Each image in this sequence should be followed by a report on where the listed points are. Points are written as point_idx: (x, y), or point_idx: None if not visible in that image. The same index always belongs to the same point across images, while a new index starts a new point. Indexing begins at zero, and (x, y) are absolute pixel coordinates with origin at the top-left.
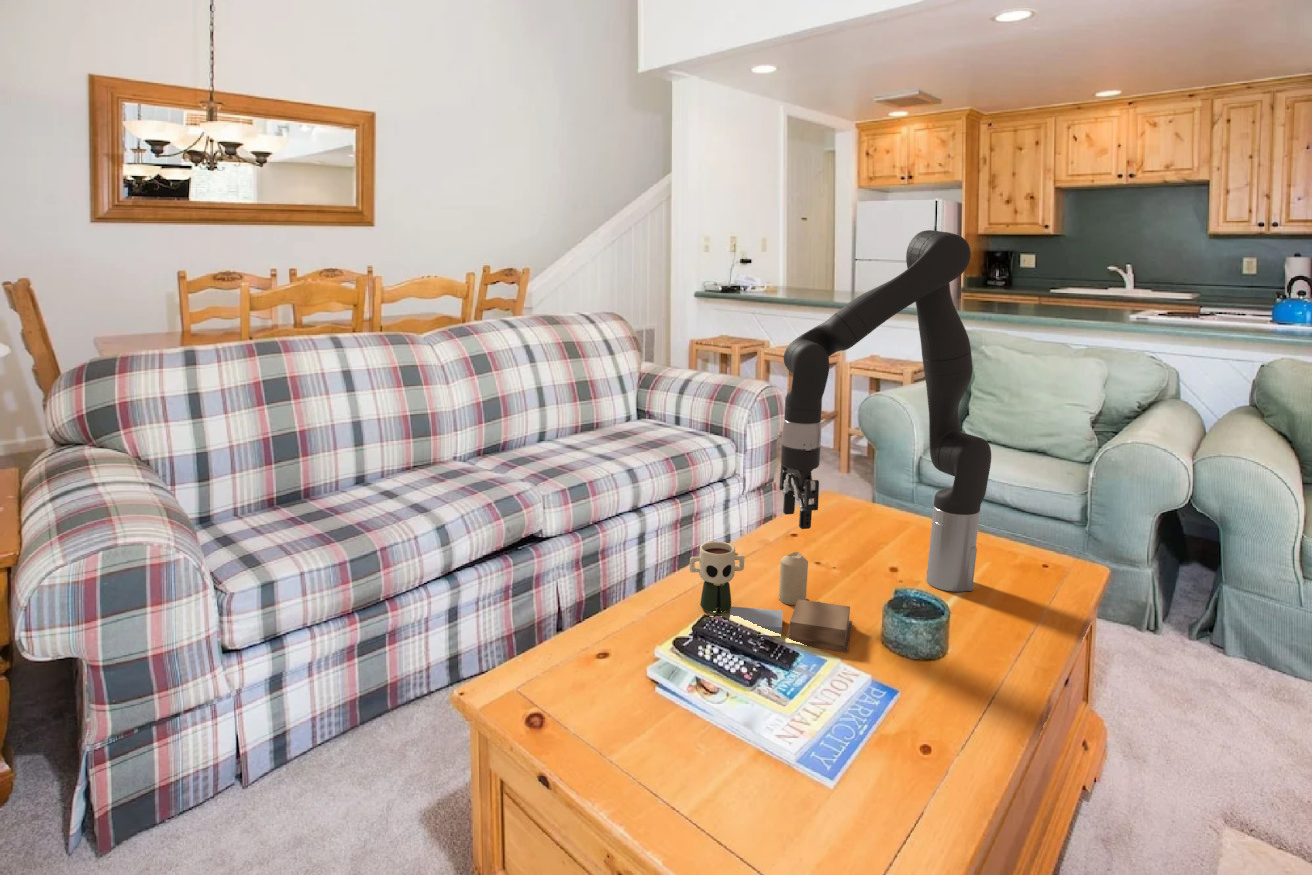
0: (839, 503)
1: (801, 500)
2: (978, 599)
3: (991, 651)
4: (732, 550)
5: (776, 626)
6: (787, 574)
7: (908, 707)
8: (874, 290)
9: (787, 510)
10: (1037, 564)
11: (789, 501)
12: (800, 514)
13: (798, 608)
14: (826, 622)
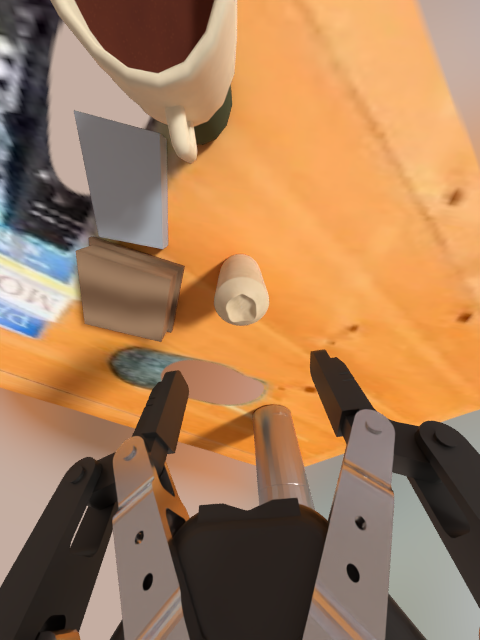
0: None
1: (119, 498)
2: (239, 422)
3: None
4: (114, 61)
5: (98, 227)
6: (220, 279)
7: (6, 338)
8: None
9: (315, 367)
10: None
11: (329, 403)
12: (153, 415)
13: (134, 274)
14: (98, 305)
